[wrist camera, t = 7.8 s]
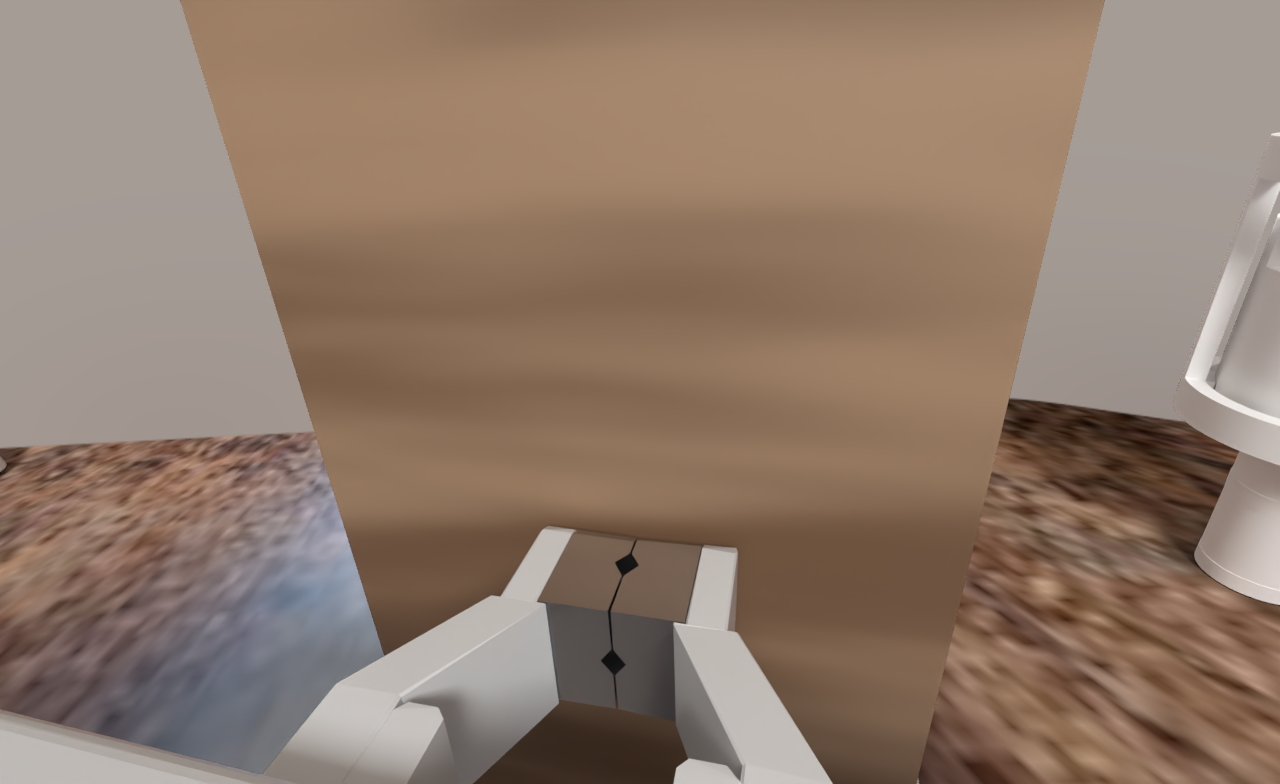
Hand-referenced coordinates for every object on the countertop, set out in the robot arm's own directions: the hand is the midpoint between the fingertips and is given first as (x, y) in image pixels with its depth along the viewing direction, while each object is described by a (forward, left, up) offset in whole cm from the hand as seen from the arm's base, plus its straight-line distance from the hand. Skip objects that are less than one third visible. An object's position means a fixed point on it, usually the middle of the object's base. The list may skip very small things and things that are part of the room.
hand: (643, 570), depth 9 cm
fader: (-1, +1, -7) cm, 7 cm away
